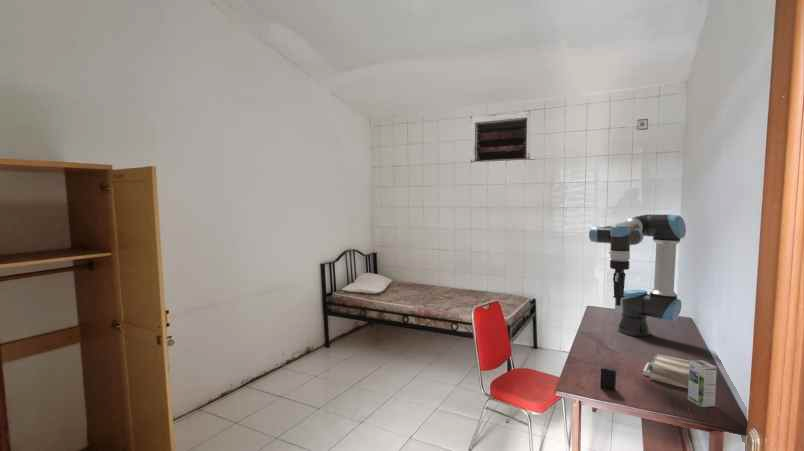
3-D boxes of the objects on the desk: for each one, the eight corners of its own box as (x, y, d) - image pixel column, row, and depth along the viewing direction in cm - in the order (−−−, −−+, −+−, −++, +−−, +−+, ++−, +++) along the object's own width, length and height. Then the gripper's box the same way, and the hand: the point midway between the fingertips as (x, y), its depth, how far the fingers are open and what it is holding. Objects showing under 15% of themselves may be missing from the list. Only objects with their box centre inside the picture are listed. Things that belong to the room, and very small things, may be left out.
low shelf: (655, 366, 168) (656, 353, 168) (696, 375, 159) (696, 362, 159) (649, 379, 156) (650, 365, 156) (692, 389, 147) (693, 375, 147)
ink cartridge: (615, 389, 148) (616, 369, 148) (614, 391, 147) (615, 371, 146) (601, 385, 151) (602, 365, 151) (600, 387, 150) (601, 367, 149)
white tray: (647, 367, 168) (647, 362, 168) (687, 376, 159) (687, 371, 159) (643, 375, 160) (643, 370, 160) (684, 385, 151) (684, 379, 151)
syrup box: (686, 399, 140) (688, 360, 139) (702, 398, 141) (703, 359, 140) (700, 407, 135) (701, 367, 134) (716, 406, 135) (717, 366, 134)
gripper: (613, 257, 179) (612, 307, 180) (606, 260, 169) (605, 313, 171) (632, 258, 174) (631, 310, 176) (626, 262, 164) (625, 317, 166)
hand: (618, 312), depth 173 cm, fingers closed
